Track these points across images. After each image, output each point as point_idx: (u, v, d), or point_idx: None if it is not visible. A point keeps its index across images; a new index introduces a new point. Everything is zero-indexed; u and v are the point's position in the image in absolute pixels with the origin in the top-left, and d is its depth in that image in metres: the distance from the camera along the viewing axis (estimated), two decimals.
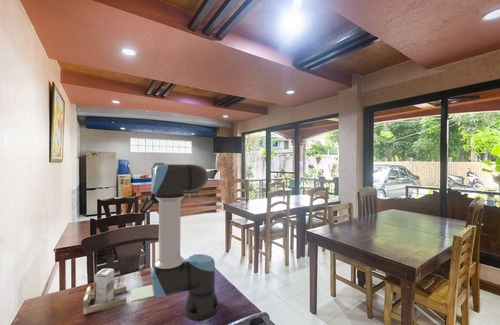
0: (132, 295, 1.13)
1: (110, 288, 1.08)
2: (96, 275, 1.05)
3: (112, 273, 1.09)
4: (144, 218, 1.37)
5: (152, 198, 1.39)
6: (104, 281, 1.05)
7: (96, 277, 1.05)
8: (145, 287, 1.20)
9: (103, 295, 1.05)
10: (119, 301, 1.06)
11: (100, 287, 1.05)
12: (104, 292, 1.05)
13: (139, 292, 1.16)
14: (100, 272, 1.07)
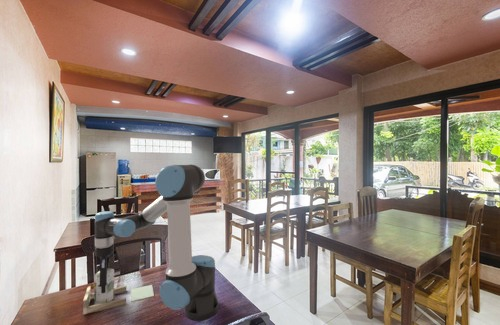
0: (132, 295, 1.13)
1: (110, 288, 1.08)
2: (96, 275, 1.05)
3: (112, 273, 1.10)
4: None
5: None
6: None
7: (96, 277, 1.05)
8: (145, 287, 1.20)
9: None
10: (119, 301, 1.06)
11: None
12: None
13: (139, 292, 1.16)
14: None
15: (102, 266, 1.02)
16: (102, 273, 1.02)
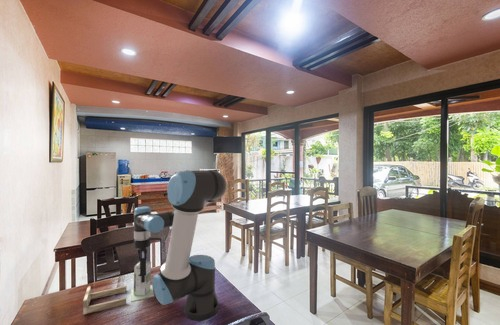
0: (132, 295, 1.13)
1: (148, 279, 1.15)
2: (136, 267, 1.13)
3: (149, 265, 1.17)
4: None
5: None
6: None
7: (136, 269, 1.13)
8: None
9: None
10: (119, 301, 1.06)
11: None
12: None
13: None
14: (139, 264, 1.14)
15: (143, 256, 1.09)
16: (142, 263, 1.09)
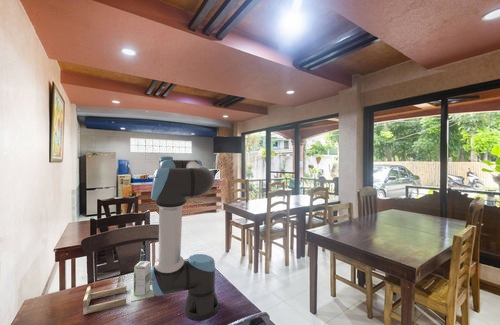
0: (132, 295, 1.13)
1: (147, 279, 1.15)
2: (135, 267, 1.13)
3: (149, 265, 1.17)
4: None
5: None
6: (143, 272, 1.13)
7: (135, 269, 1.13)
8: None
9: (142, 286, 1.13)
10: (119, 301, 1.06)
11: (139, 278, 1.13)
12: (143, 283, 1.13)
13: None
14: (139, 264, 1.14)
15: None
16: None
